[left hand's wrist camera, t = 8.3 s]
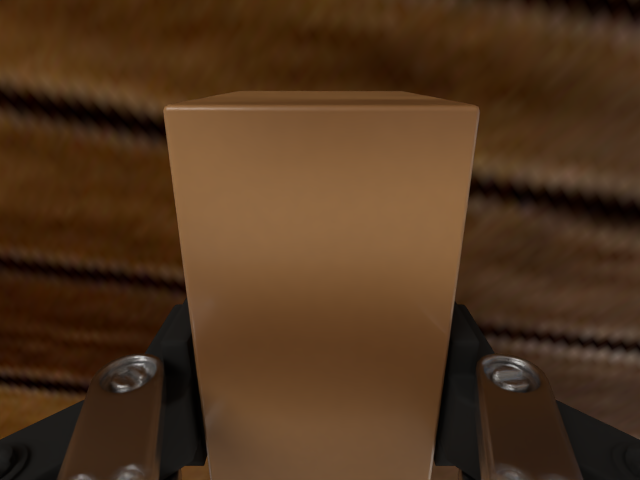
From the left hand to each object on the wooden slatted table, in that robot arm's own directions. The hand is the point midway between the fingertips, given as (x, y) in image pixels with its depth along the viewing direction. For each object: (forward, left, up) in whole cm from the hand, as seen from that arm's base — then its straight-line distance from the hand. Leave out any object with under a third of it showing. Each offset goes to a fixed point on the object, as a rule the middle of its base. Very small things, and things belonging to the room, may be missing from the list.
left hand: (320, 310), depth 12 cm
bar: (+18, +8, -2) cm, 19 cm away
